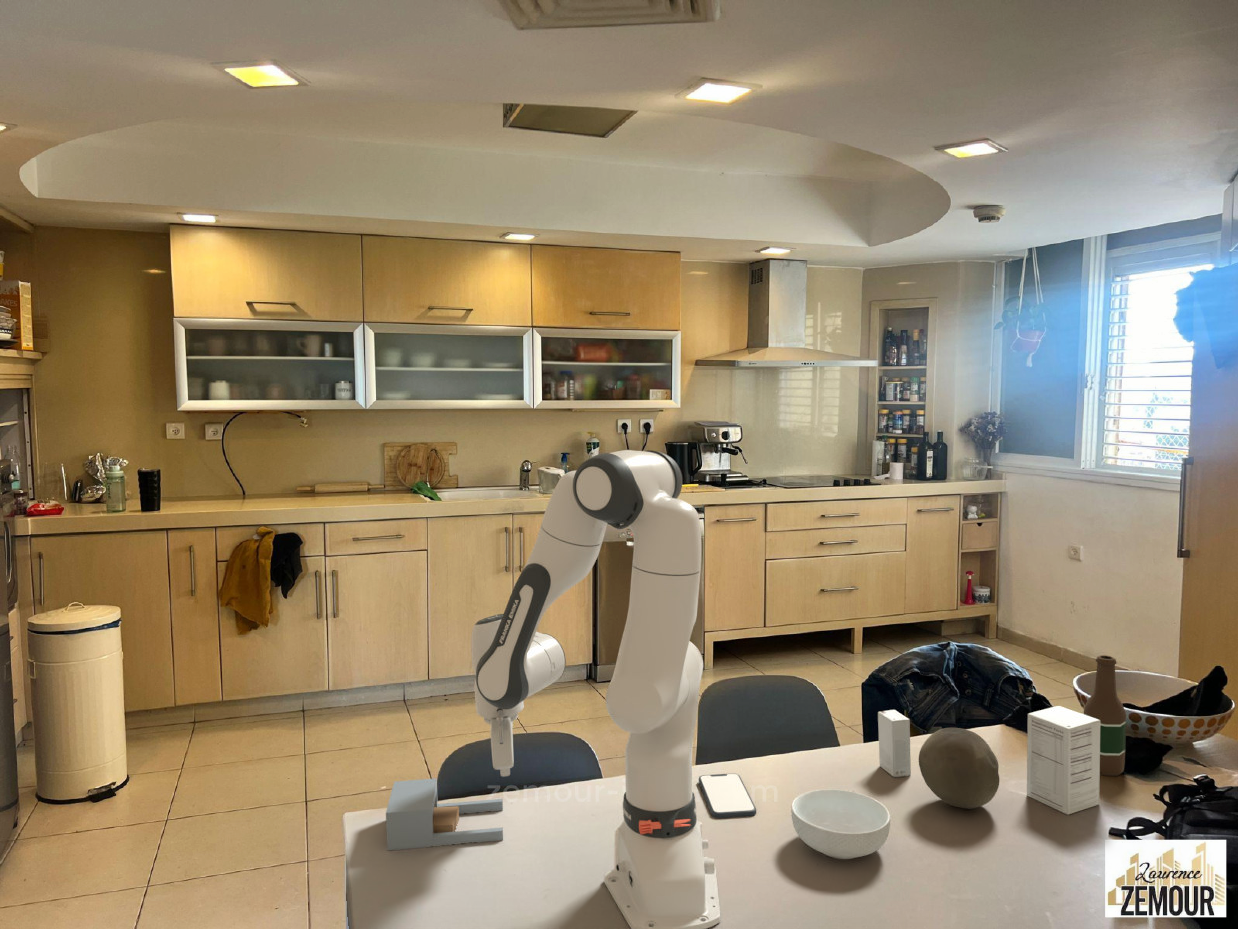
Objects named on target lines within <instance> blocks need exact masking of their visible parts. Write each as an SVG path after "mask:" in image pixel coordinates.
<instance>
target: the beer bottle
mask: <svg viewBox="0 0 1238 929" xmlns="http://www.w3.org/2000/svg"><path fill="white" fill-rule="evenodd" d="M1095 663H1096V664H1097V665H1096V673H1095V683H1094V689H1093V693H1092V695H1090V697H1089V698H1087V700H1086V703H1085V705H1084V708H1083V714H1084V715H1087V716H1090V717H1092V718H1095V719H1098V720H1100V776H1105V777H1110V776H1111V777H1118V776H1119V775H1122V774H1123V772H1124V771H1125V764H1126V730H1127V717H1126V716H1127V715H1126V714H1127V712H1126V710H1125V706H1124V705H1123V703H1122V701H1121V700H1120V699H1119V696H1118V694H1117V693H1118V692H1117V687H1116V684H1117V683H1116V665H1117V664H1118V663H1117V659H1116V658H1115V657H1113V656H1111V655H1098V656H1097V657H1096V659H1095Z"/></svg>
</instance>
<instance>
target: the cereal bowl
mask: <svg viewBox="0 0 1238 929" xmlns="http://www.w3.org/2000/svg"><path fill="white" fill-rule="evenodd" d="M790 816H791V822H792V825H793V828H794V831H795V832H796V834H797V836H798V837H799V838H800V840H802V841H803V843H805V844H806V845H807V846H808V847H810V848H812V849H813V850H815V851H817V852H820V853H822V854H823V855H825V856H827V857H829V858H834V859H837V860H852V859H855V858H859V857H863V856H864V857H866V856H868V855H870V854H873V853H875V852H876V851H878V850H879V849H881V847H882V846H884V844H885V843H886V841H887V839H888V837H889V834H890V829H891V815H890V812H889V810H888V808H887V807H886V806H885V805H884V804H883V803H882V802H880V801H878V800H876V799H875V798H873V797H871V796H868V795H866V794H863V793H860V792H856V791H851V790H845V789H840V788H839V789H836V788H823V789H816V790H810V791H807V792H804V793H802V794H799V795H798V796H796V797H795V799H793V801H792V803H791V815H790Z"/></svg>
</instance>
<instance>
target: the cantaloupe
mask: <svg viewBox="0 0 1238 929" xmlns="http://www.w3.org/2000/svg"><path fill="white" fill-rule="evenodd" d="M918 753H919V754H918V766H919V770H920V773H921V776H922V777H923V778H922V779H923V780H924V783H925V785H926V786H927V788H929V789H930V791H931V792H932V793H933V794H934V795H935V796H936V797H937V798H938V799H940V800H941V801H942V802H944V803H945V804H947V805H949V806H952V807H955V808H960V809H961V808H962V809H968V810H969V809H971V810H972V809H977V808H980V807H983V806H985V805H986V804H988V803H990V802H991V801H992V800H993V798H995V796H996V794H997V792H998V789H999V786H1000V775H999V761H998V758H997V757H996V755H995V752H994V751H993V750H992V749H991V747H990V745H989V744H988V743H987V741H985V739H984V738H983V737H982V736H980V735H979V734H977V733H976V732H974V731H972V730H969V729H967V728H961V727H959V728H958V727H945V728H940V729H938V730H936V731H934V732H933V733H931V734H930V736H929V737H928V738H926V740H925V741H924V742H923V744H922V746H921V748H920V750H919V752H918Z"/></svg>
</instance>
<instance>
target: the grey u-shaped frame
mask: <svg viewBox="0 0 1238 929" xmlns="http://www.w3.org/2000/svg"><path fill="white" fill-rule="evenodd" d="M437 780H438V779H437V778H436V777H434V778H424V779H411V780H400V781H393V785H392V788H391V792H390V796H389V800H388V803H387V806H386V807H387V808H386V810H385V823H386V825H385V828H386V845H387V850H386V851H395V850H396V851H397V850H408V849H409V850H410V849H419V848H420V849H421V848H430V847H431V846H433V847H441V846H442V845H444V846H453V845H452V844H455V845H462V844H461V843H466V844H470V843H469V842H472V843H471V844H474V843H473V842H477V843H484V842H485V843H486V842H497V841H504V828H503V827H494V828H493V827H492V828H482V829H481V828H480V829H472V830H471V829H470V830H468V829H467V830H460V831H459V830H458V831H457V830H456V831H455V832H445V833H433V810H434V807H454V806H459V815H465V814H464V813H467V814H477V813H476V812H479V813H485V812H484V811H491V812H500V810H502V811H503V809H504V806H503V805H504V804H503V798H497V799H496V798H495V799H494V798H493V799H482V800H473V801H472V800H471V801H460V802H459V801H458V802H448V803H439V802H438V785H437V784H438V782H437ZM442 847H443V846H442ZM431 848H432V847H431Z"/></svg>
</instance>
